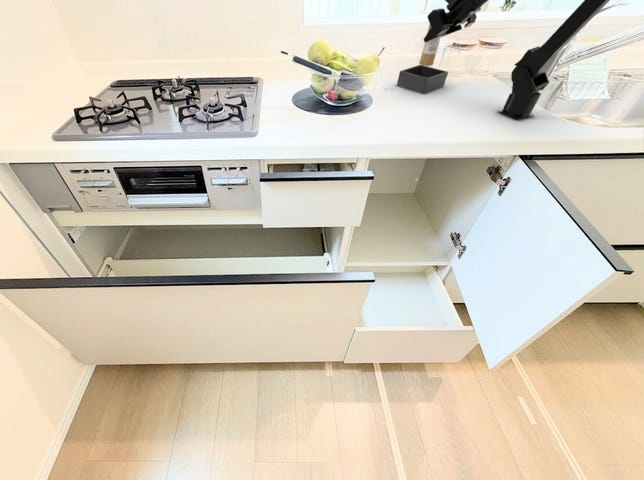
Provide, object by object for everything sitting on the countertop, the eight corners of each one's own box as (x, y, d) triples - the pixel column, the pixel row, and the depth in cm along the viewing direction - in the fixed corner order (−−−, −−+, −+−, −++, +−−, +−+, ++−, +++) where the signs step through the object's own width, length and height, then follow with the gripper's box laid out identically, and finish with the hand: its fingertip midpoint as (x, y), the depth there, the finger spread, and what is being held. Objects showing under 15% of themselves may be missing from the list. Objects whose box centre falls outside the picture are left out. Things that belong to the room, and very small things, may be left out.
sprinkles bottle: (433, 62, 109) (447, 11, 99) (432, 66, 106) (447, 14, 96) (419, 62, 110) (432, 11, 100) (418, 65, 107) (431, 13, 97)
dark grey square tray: (443, 86, 112) (448, 71, 109) (423, 94, 108) (428, 78, 104) (416, 78, 118) (420, 64, 115) (396, 85, 114) (399, 71, 111)
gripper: (483, -35, 92) (435, 11, 107) (445, -29, 85) (400, 19, 99) (497, 4, 94) (449, 43, 108) (461, 12, 86) (414, 54, 100)
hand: (428, 39), depth 104 cm, fingers closed on sprinkles bottle, 4 cm apart
